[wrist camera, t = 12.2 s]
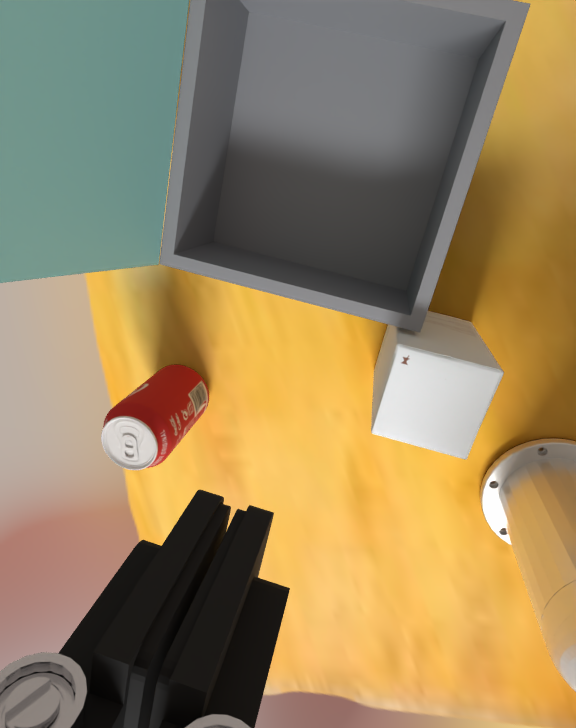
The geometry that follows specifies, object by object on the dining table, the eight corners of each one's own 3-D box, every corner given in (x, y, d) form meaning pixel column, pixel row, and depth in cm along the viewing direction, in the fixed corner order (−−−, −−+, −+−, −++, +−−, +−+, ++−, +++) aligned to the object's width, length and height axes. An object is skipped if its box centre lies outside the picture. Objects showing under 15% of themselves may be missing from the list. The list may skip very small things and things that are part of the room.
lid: (-282, -461, 12) (-297, -453, 13) (-173, 302, 20) (-184, 296, 20) (196, -61, 30) (185, -62, 30) (158, 264, 37) (150, 261, 37)
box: (494, 49, 37) (530, 3, 28) (413, 302, 44) (420, 332, 35) (242, -2, 39) (197, -60, 30) (205, 248, 46) (159, 264, 37)
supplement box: (371, 373, 47) (366, 434, 36) (394, 300, 45) (396, 340, 33) (447, 394, 47) (467, 463, 35) (475, 321, 44) (506, 370, 32)
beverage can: (155, 357, 51) (91, 404, 40) (213, 366, 50) (164, 416, 39) (156, 411, 54) (95, 469, 42) (211, 420, 53) (164, 483, 42)
